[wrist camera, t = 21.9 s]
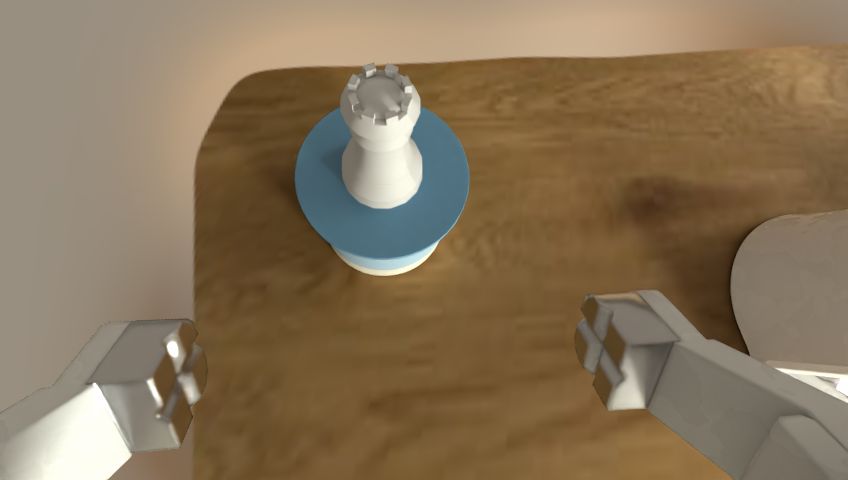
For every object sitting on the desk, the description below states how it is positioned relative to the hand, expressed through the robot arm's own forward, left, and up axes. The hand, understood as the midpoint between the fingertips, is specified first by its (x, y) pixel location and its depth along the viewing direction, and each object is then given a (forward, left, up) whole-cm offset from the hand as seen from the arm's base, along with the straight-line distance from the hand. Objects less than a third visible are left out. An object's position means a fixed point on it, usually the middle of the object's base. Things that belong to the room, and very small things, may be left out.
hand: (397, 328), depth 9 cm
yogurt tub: (+7, -7, -21) cm, 23 cm away
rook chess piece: (+7, -7, -13) cm, 16 cm away
